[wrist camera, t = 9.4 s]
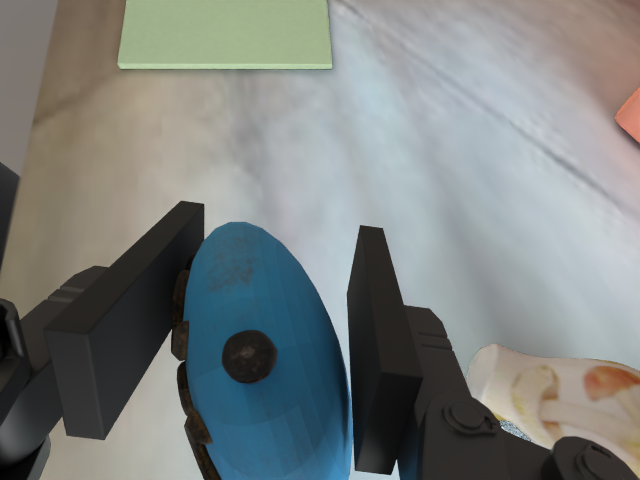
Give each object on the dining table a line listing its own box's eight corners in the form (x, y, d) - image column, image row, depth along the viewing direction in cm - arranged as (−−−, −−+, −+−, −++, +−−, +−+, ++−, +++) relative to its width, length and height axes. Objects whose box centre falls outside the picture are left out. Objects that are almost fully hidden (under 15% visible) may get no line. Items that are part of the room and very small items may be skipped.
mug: (458, 316, 27) (625, 298, 19) (532, 392, 30) (705, 403, 22) (426, 417, 23) (620, 445, 15) (515, 494, 26) (719, 552, 18)
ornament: (190, 284, 16) (40, 148, 6) (298, 255, 17) (308, 95, 7) (236, 510, 13) (102, 837, 4) (361, 464, 14) (503, 643, 5)
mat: (120, 69, 32) (116, 63, 32) (134, -32, 36) (132, -39, 36) (331, 69, 34) (332, 64, 33) (323, -28, 38) (324, -34, 37)
